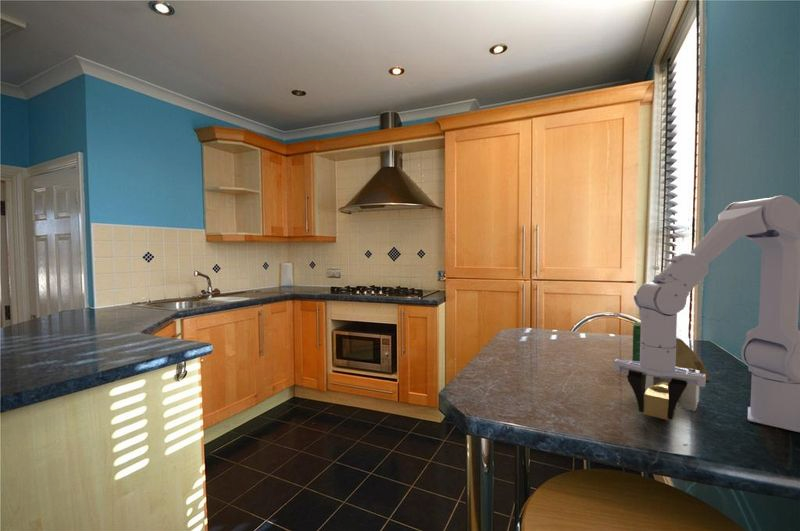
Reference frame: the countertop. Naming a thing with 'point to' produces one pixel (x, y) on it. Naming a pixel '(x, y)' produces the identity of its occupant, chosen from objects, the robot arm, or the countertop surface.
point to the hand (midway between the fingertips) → (655, 413)
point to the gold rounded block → (657, 400)
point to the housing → (688, 396)
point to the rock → (688, 358)
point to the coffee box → (636, 341)
